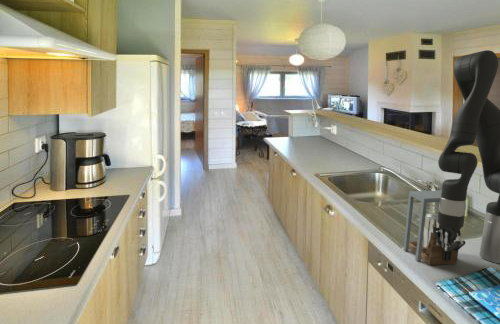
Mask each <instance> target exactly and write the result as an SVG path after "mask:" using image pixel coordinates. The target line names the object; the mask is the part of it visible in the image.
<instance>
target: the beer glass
mask: <svg viewBox="0 0 500 324" xmlns="http://www.w3.org/2000/svg"><path fill="white" fill-rule="evenodd" d="M437 220H438V213H437V214H436V213H429V212H428V213H427V212H426V217H425V226H424V235H423V244H422V252H423V253H428V252H429V246H430V245H437V244H438V242H437V239H436V235H435V232H434V228H437V227H439V224H438V222H437Z"/></svg>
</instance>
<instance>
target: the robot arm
mask: <svg viewBox="0 0 500 324" xmlns="http://www.w3.org/2000/svg"><path fill="white" fill-rule="evenodd" d="M498 68H499V57H498V55H497V54H496V53H495V52H494V51H493V50H491V49H490V50H487V49H486V50H480V51H477V52H473V53H469V54H463V55H462V56H459V57H457V58H456V59H455V61H454V62H453V74H454V75H453V76H454V78H455V81H456V84H457V86H458V89H459V91H460V94H461V95H462V99H463V100H464V102H463V103H462V104H461V106H460V108H459V109H457V111H456V113H455V116H454V118H453V120H452V125H451V128H450V129H451V130H450V135H449V139H448V141H447V142H446V144H445V147H444V148H443V150H442V152H441V154H440V155H439V158H438V167H439V169H440V170H441V171H442V172H444V173H445V172H446V173H452V174H456V175H457V174H458V175H461V176H460V177H458V178H453V179H451V178H450V179H445V180H443V181H442V185H441V190H442V192H441V199H440V202H438V203H439V206H438V212H437V215H438V220H437V222H438V224H439V227H437V228H434V232H435V235H436V239H437V242H438V244H439V245H441V248H442V259H443V260H444V261H450V259H451V254H452V251H458V250H460V249H462V248H463V247H464V245H466V241H465V240H463V239H462V238H461V235H462V233H461V229H462V228H464V225H465V224H464V223H465V218H466V217H465V215H466V208H467V204H466V203H467V201H466V200H467V192H468V188H469V184H470V181H471V179H472V176H473V175H474V172H475V171H476V168H477V167H478V158H477V156H476V155H475V154H474V153H472V152H465V151H464V152H463V151H457V150H458V148H460V147H465V146H472V145H474V144H475V141H476V144H477V147H478V148H477V149H478V152H479V156H480V159H481V166H482V174H483V180H484V184H485V186H486V188H488V190H490V191H491V192H493V193H495V194H498V198H497V200H496V201H491V202H488V203H486V208H485V213H484V223H483V228H482V229H483V230H482V235H481V243H480V251H479V256H480V257H481V258H482V259H484V260H486V261H487V262H488V261H489V262H492V263H495V264H500V108H499V107H498V106H497V105H496V104H495V103H493V102H492V101H491V99H489V98H488V96H489V94H490V91H491V89H492V86H493V84H494V81H495V78H496V75H497V72H498V70H499V69H498ZM458 252H459V251H458Z"/></svg>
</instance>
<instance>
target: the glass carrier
mask: <svg viewBox="0 0 500 324" xmlns="http://www.w3.org/2000/svg"><path fill="white" fill-rule="evenodd" d="M417 241H418V240H414V241H413V240H412V241H411V240H410V241H409V249H408V250H410V252H411V251H412V253H414V254H415V255H416V250H417ZM459 250H460V249H459ZM459 250H458V251H452V254H451V259H450V261H444V260H443V259H442V248H441V245H439V244H437V245H430V246H429V252H428V253H423V252H422V253H421V260H423V261H424V262H425V263H427V264H428V265H429V266H434V265H436V266H437V265H454V264H456V265H457V264H458V257H459Z"/></svg>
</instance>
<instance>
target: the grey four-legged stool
mask: <svg viewBox="0 0 500 324" xmlns="http://www.w3.org/2000/svg"><path fill="white" fill-rule="evenodd" d="M441 192H442V189H439V190H438V189H437V190H436V189H435V190H409V191H408V200H407V201H408V203H407V212H406V222H405V223H406V224H405V233H404V243H403V251H404V252H409V250H410V249H409V242H410V241H411V240H410V237H411V230H412V229H411V228H412V227H411V226H412V218H413V207H414V200H415V199H416V200H418V201H420V202H421V204H420V215H419V224H418V230H417V240H416V241H417V247H416V248H417V250H416V254H415V261H416V262H421V261H422V259H421V253H422V244H423V235H424V226H425V217H426V213H427V205H428V204H429V203H440V199H441Z"/></svg>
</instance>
